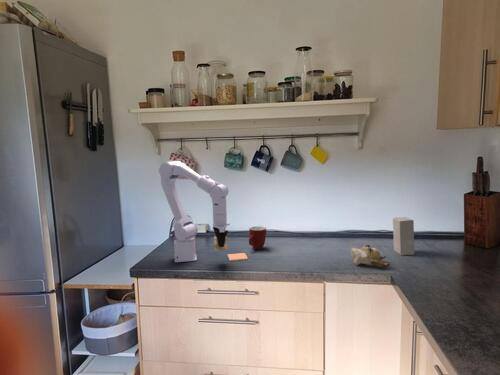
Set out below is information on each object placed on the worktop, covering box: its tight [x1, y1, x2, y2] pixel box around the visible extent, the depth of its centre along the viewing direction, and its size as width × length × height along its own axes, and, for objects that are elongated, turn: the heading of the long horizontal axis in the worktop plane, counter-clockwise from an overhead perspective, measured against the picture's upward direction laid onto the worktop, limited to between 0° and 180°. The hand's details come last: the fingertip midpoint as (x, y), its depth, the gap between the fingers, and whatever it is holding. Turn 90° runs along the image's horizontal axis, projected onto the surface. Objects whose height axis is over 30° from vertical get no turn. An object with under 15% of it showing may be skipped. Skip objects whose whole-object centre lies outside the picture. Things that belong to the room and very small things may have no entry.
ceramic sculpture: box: [350, 244, 391, 268], centre depth 147 cm, size 11×9×15 cm
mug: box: [248, 226, 267, 251], centre depth 171 cm, size 10×8×10 cm
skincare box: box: [392, 216, 415, 256], centre depth 162 cm, size 8×7×16 cm
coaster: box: [227, 252, 249, 262], centre depth 160 cm, size 8×8×1 cm
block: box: [213, 235, 228, 252], centre depth 152 cm, size 5×5×5 cm
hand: (220, 244), depth 152 cm, fingers closed on block, 5 cm apart
